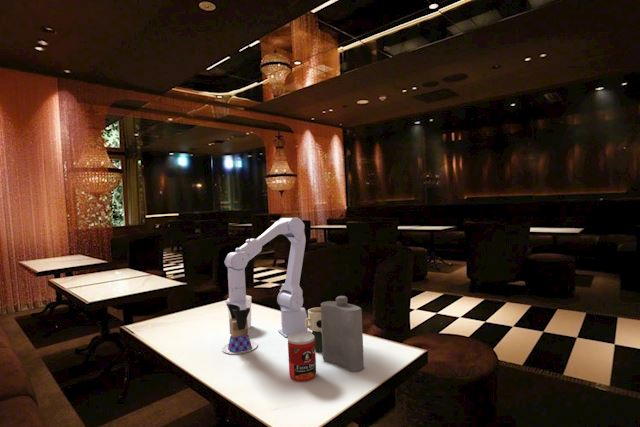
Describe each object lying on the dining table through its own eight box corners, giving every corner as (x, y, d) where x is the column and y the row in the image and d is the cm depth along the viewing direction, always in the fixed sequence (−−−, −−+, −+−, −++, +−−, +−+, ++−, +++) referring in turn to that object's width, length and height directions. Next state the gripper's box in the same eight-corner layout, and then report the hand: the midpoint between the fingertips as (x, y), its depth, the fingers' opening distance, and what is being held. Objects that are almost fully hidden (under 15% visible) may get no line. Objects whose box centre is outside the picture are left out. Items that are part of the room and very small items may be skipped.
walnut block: (243, 330, 128) (243, 316, 128) (248, 334, 124) (247, 319, 124) (229, 333, 126) (229, 318, 126) (233, 337, 122) (232, 322, 122)
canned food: (294, 384, 97) (293, 344, 97) (285, 373, 104) (283, 335, 104) (321, 378, 100) (319, 338, 100) (310, 367, 107) (308, 330, 107)
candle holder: (240, 332, 141) (239, 302, 140) (223, 329, 146) (221, 299, 146) (257, 325, 149) (256, 296, 149) (240, 322, 154) (239, 294, 154)
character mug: (313, 356, 115) (311, 315, 115) (300, 349, 121) (298, 311, 120) (339, 347, 122) (337, 308, 122) (325, 341, 127) (324, 304, 127)
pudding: (215, 350, 124) (214, 335, 124) (243, 340, 133) (242, 326, 133) (236, 358, 117) (235, 342, 116) (264, 347, 126) (264, 332, 126)
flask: (369, 366, 106) (366, 298, 106) (356, 373, 102) (353, 303, 101) (332, 353, 117) (330, 291, 116) (319, 359, 113) (317, 295, 112)
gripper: (220, 285, 129) (222, 322, 130) (230, 292, 116) (232, 334, 117) (240, 282, 133) (242, 319, 133) (251, 289, 120) (253, 330, 120)
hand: (238, 326), depth 125 cm, fingers open, 7 cm apart
